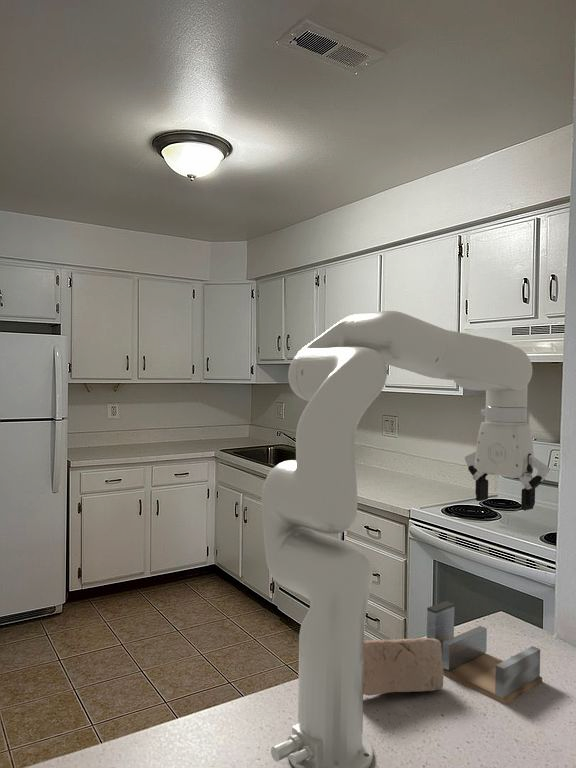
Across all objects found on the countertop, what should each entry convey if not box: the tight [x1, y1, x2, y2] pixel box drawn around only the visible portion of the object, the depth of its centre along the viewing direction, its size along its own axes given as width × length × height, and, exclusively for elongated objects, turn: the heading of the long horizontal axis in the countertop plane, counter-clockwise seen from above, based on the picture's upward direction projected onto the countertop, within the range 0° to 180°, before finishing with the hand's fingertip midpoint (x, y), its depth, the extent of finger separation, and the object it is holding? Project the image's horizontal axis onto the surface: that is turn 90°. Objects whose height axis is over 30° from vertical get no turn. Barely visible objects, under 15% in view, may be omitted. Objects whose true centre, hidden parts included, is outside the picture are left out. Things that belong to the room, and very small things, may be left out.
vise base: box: [442, 645, 543, 706], centre depth 112 cm, size 12×20×6 cm, turn 39°
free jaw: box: [426, 600, 488, 670], centre depth 116 cm, size 12×8×8 cm, turn 129°
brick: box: [363, 637, 444, 696], centre depth 104 cm, size 17×8×5 cm
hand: (503, 504), depth 115 cm, fingers open, 9 cm apart
